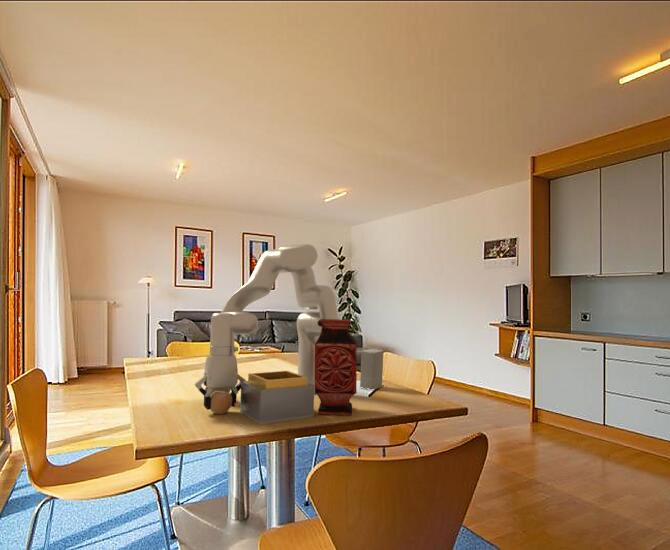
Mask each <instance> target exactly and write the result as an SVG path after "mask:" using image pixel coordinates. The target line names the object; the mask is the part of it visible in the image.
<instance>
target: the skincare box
mask: <svg viewBox="0 0 670 550" xmlns="http://www.w3.org/2000/svg"><path fill="white" fill-rule="evenodd" d="M360 358H361V359H360V361H361V362H360V378H359V379H360V380H359V381H360V382H359V384H360V385H359V388H360V387H363V388H369V389H375V390H377V389H380V388H382V387H383V374H384V373H383V372H384V371H383V370H384V369H383V368H384V350H382V349H376V348H369V349H366V350H361V355H360ZM363 388H362V389H363Z"/></svg>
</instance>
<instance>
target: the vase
mask: <svg viewBox="0 0 670 550" xmlns="http://www.w3.org/2000/svg"><path fill="white" fill-rule="evenodd" d="M318 325H319V326H321V327H322V329H321V334H320V336H319V338H318V340H317V342H316V343H315V393H314V394H316V395H317V396H318V398H319V401H320V403H319V407H318V410H317V412H318V415H328V416H352V415H353V404H352V402H351V399H352V398H353V396H355V395H356V394H357V393H358V392H357V383H358V382H357V381H358V379H357V340H356V338H354V336H353V335H351V333H350V331H349V327H351V326H352V320H351V319H340V318H338V319H320V320H319V321H318Z"/></svg>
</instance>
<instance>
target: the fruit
mask: <svg viewBox="0 0 670 550" xmlns="http://www.w3.org/2000/svg"><path fill="white" fill-rule="evenodd" d="M219 389H220V388H219ZM230 393H231V392H230ZM230 393H228V392H223V391H221V390H220V391H215V392H213V393H212V394H211V396H210V397H211V402H210V411H211V412H212V413H213V414H217V415H223V414H226V413H227V412H228V411H229V410H230V409H231V407H232V406H231V405H232V396H231V394H230Z"/></svg>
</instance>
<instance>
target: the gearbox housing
mask: <svg viewBox="0 0 670 550" xmlns="http://www.w3.org/2000/svg"><path fill="white" fill-rule="evenodd" d="M247 377H248V380H246V381H241V389H240V403H239V404H240V409H239V410H240V413H241V414H242V415H244V416H246V417H248V418H249V419H250V420H252V421H253V422H254V423H257V424H259V425H266V424H267V425H268V424H272V423H273V424H274V423H279V422H286V421H287V422H288V421H294V420H295V421H296V420H301V419H302V420H303V419H308V418H314V416H315V415H314V414H315V413H314V411H315V410H314V407H315V393H314V385H312V384H309V383H307V377H305V376H302V375H299V374H298V373H295V372H292V371H290V370H279V371H265V372H254V373H253V372H252V373H251V372H250V373H248V376H247Z"/></svg>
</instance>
